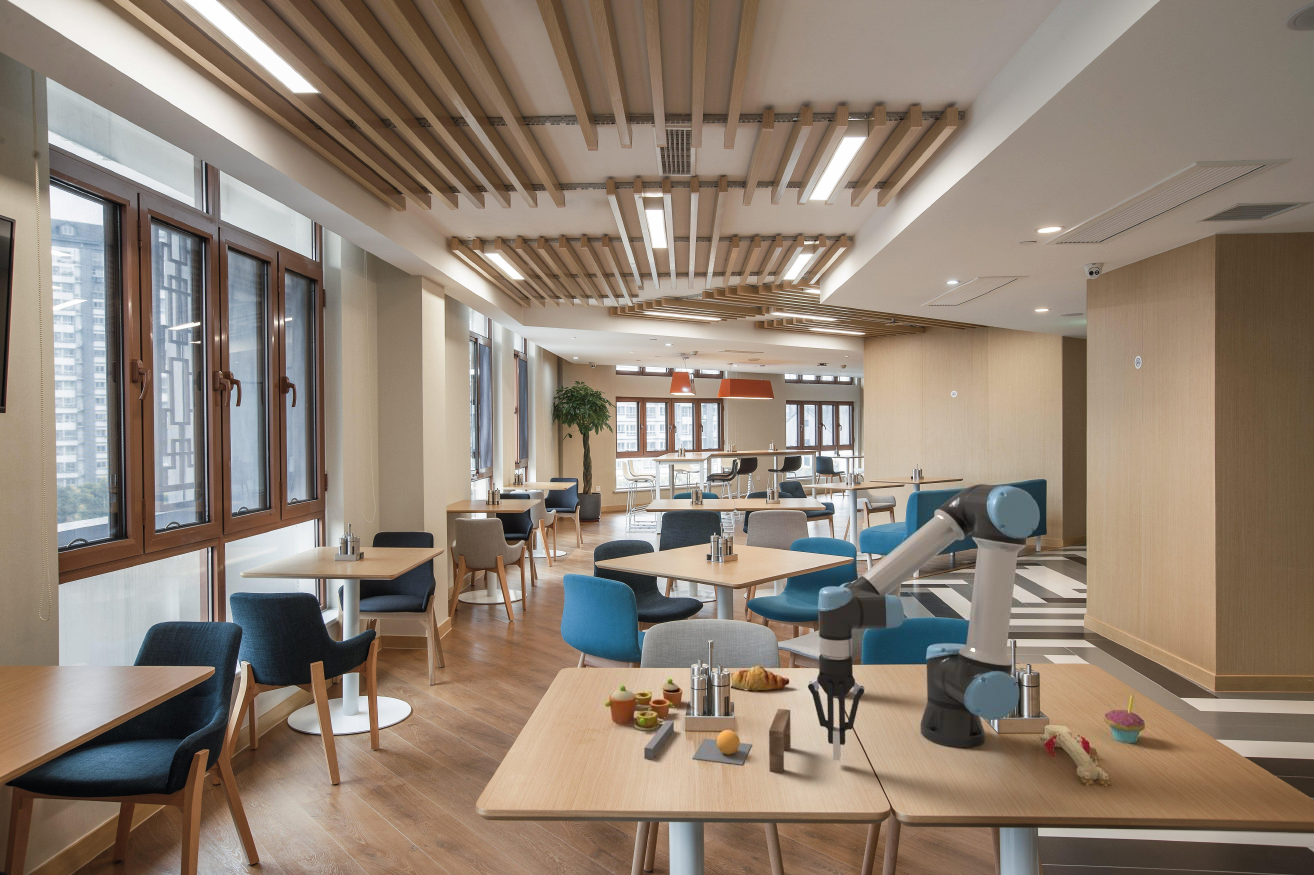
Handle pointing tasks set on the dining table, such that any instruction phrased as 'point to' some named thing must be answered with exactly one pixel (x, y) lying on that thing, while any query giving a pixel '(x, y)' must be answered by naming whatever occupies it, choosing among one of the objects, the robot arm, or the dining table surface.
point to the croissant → (757, 679)
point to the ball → (728, 742)
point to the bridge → (779, 740)
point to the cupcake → (1125, 724)
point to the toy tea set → (643, 706)
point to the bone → (1075, 753)
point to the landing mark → (712, 753)
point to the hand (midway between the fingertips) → (836, 757)
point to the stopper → (658, 740)
